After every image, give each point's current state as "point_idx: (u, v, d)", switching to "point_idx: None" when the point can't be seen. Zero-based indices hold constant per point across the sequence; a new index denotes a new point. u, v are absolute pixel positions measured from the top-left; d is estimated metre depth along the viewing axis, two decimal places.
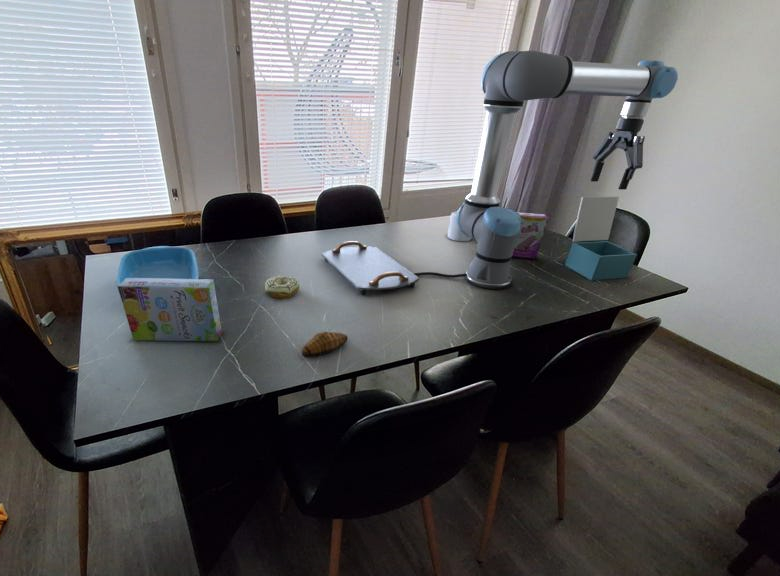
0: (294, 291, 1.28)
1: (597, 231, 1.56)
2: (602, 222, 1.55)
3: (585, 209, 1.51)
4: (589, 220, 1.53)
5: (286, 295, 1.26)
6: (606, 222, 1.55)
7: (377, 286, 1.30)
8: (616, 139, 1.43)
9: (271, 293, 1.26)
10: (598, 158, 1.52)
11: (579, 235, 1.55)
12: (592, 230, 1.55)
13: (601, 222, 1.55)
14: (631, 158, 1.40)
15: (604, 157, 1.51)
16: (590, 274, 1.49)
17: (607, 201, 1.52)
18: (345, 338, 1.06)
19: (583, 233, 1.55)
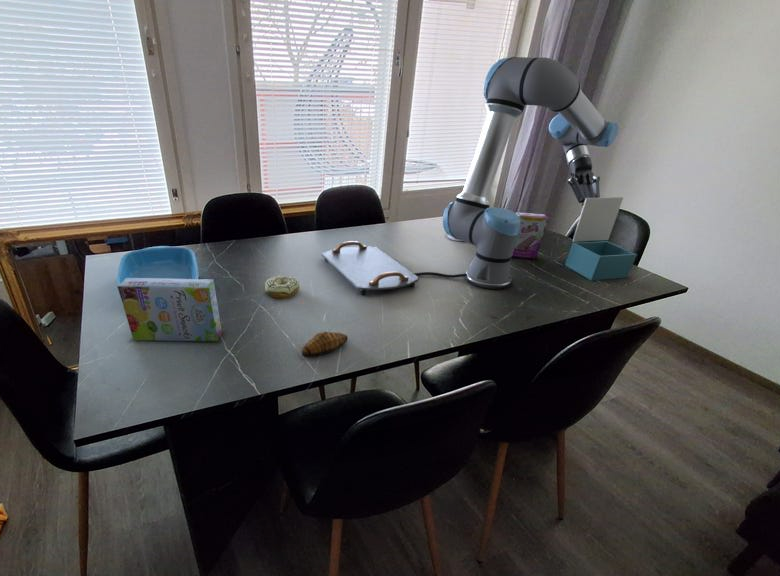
0: (294, 291, 1.28)
1: (597, 231, 1.55)
2: (604, 223, 1.54)
3: (588, 210, 1.50)
4: (591, 221, 1.52)
5: (286, 295, 1.26)
6: (608, 223, 1.55)
7: (377, 286, 1.30)
8: (584, 174, 1.55)
9: (271, 293, 1.26)
10: (588, 197, 1.54)
11: (580, 235, 1.54)
12: (593, 230, 1.55)
13: (603, 223, 1.54)
14: None
15: None
16: (590, 274, 1.49)
17: (611, 202, 1.50)
18: (345, 338, 1.06)
19: (584, 233, 1.54)
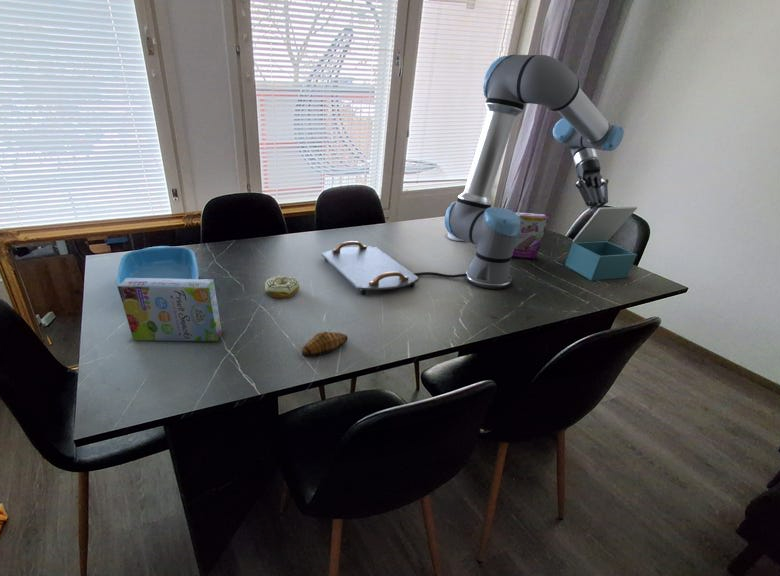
0: (294, 291, 1.28)
1: (600, 234, 1.54)
2: (609, 227, 1.52)
3: (597, 218, 1.46)
4: (597, 226, 1.50)
5: (286, 295, 1.26)
6: (613, 228, 1.53)
7: (377, 286, 1.30)
8: (592, 177, 1.52)
9: (271, 293, 1.26)
10: (596, 201, 1.51)
11: (581, 237, 1.54)
12: (595, 233, 1.54)
13: (608, 228, 1.52)
14: None
15: None
16: (590, 274, 1.49)
17: (623, 211, 1.46)
18: (345, 338, 1.06)
19: (586, 236, 1.54)
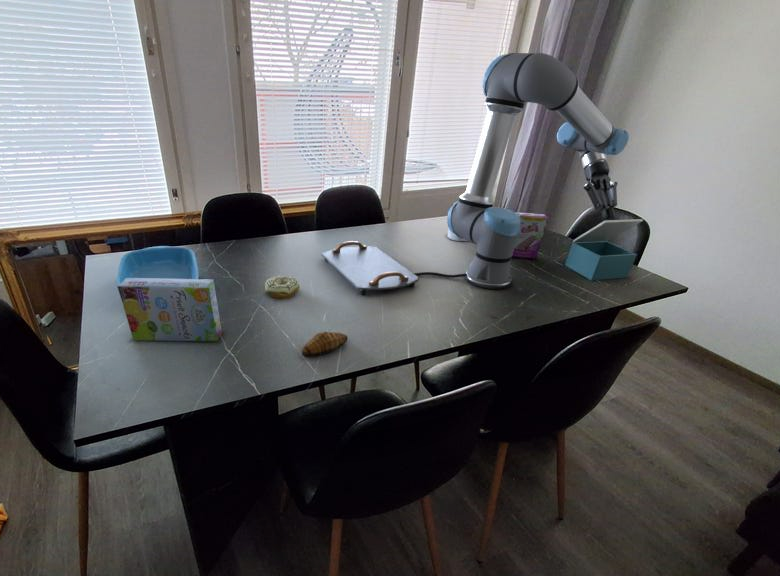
0: (294, 291, 1.28)
1: (601, 237, 1.54)
2: (611, 233, 1.51)
3: (601, 228, 1.45)
4: (599, 233, 1.49)
5: (286, 295, 1.26)
6: (615, 233, 1.52)
7: (377, 286, 1.30)
8: (601, 179, 1.48)
9: (271, 293, 1.26)
10: (605, 204, 1.47)
11: (581, 239, 1.54)
12: (596, 237, 1.53)
13: (610, 233, 1.52)
14: None
15: None
16: (590, 274, 1.49)
17: (628, 223, 1.44)
18: (345, 338, 1.06)
19: (586, 238, 1.53)
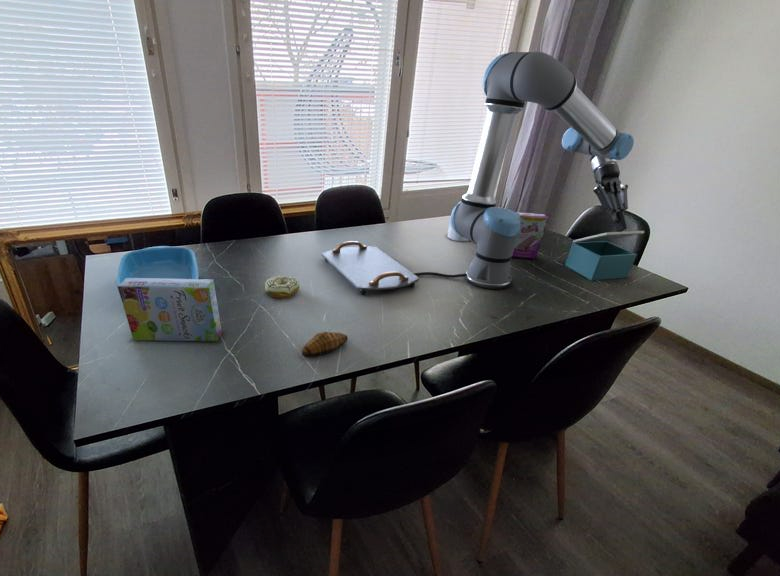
0: (294, 291, 1.28)
1: (601, 239, 1.54)
2: (611, 238, 1.52)
3: (602, 236, 1.45)
4: (599, 238, 1.50)
5: (286, 295, 1.26)
6: (615, 238, 1.52)
7: (377, 286, 1.30)
8: (611, 182, 1.44)
9: (271, 293, 1.26)
10: (616, 207, 1.43)
11: (581, 241, 1.54)
12: (597, 240, 1.53)
13: (610, 238, 1.52)
14: None
15: None
16: (590, 274, 1.49)
17: (629, 234, 1.44)
18: (345, 338, 1.06)
19: (586, 240, 1.53)
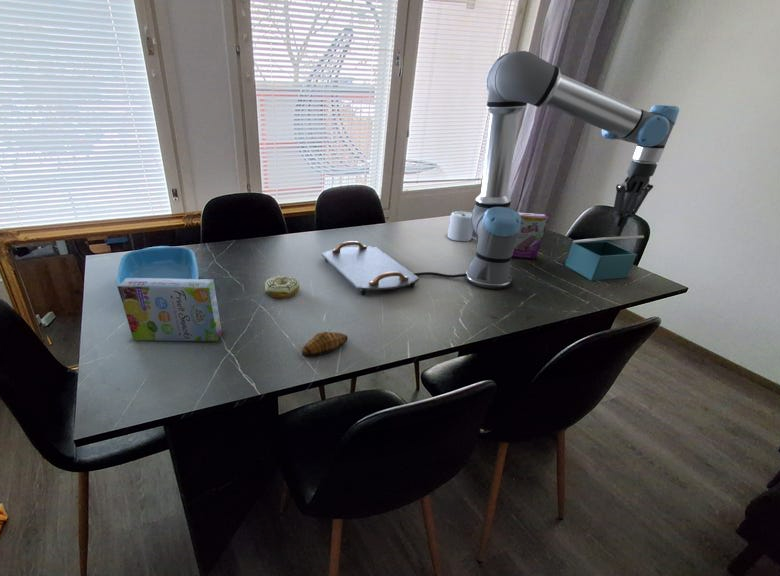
0: (294, 291, 1.28)
1: None
2: None
3: None
4: None
5: (286, 295, 1.26)
6: None
7: (377, 286, 1.30)
8: (637, 185, 1.35)
9: (271, 293, 1.26)
10: (624, 212, 1.41)
11: None
12: None
13: None
14: None
15: None
16: (590, 274, 1.49)
17: None
18: (345, 338, 1.06)
19: None
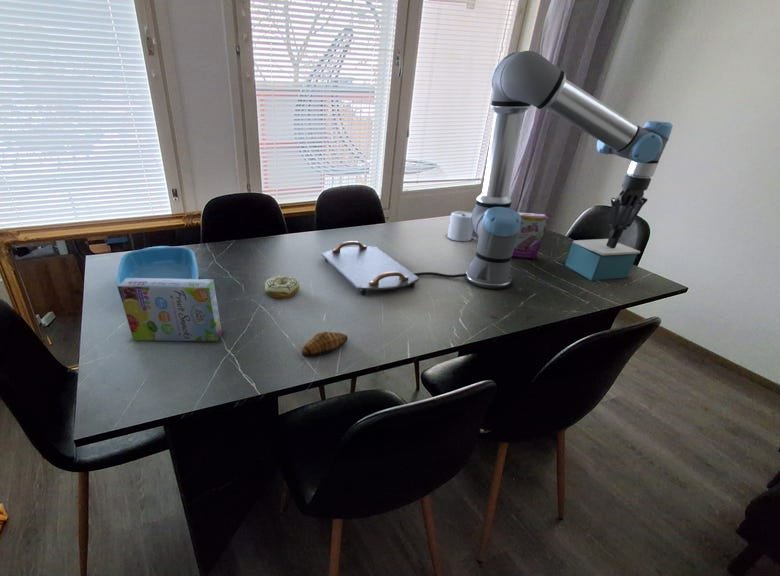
0: (294, 291, 1.28)
1: None
2: None
3: None
4: None
5: (286, 295, 1.26)
6: None
7: (377, 286, 1.30)
8: (632, 198, 1.37)
9: (271, 293, 1.26)
10: (619, 225, 1.43)
11: None
12: None
13: None
14: None
15: None
16: (590, 274, 1.49)
17: None
18: (345, 338, 1.06)
19: None
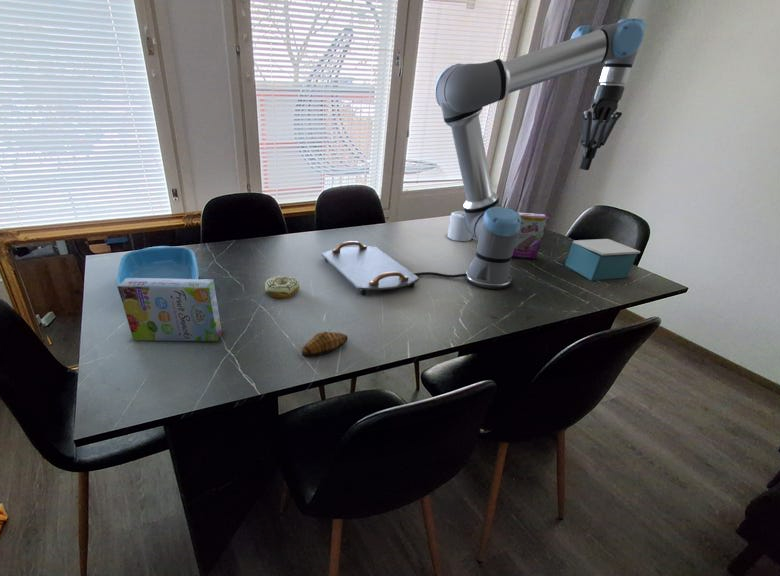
0: (294, 291, 1.28)
1: None
2: None
3: None
4: None
5: (286, 295, 1.26)
6: None
7: (377, 286, 1.30)
8: (604, 110, 1.28)
9: (271, 293, 1.26)
10: (592, 143, 1.33)
11: None
12: None
13: None
14: None
15: None
16: (590, 274, 1.49)
17: None
18: (345, 338, 1.06)
19: None
